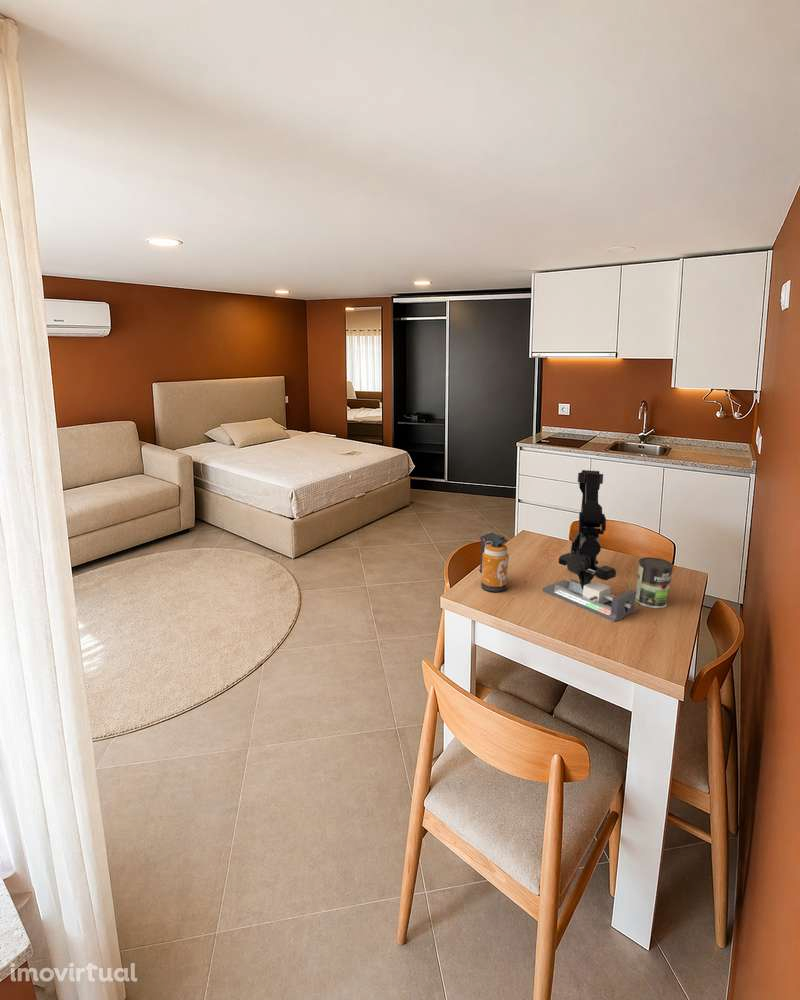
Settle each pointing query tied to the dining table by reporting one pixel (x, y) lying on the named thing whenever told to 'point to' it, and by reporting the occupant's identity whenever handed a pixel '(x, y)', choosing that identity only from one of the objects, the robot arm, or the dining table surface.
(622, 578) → the dining table surface
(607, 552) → the dining table surface
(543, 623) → the dining table surface
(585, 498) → the robot arm
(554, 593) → the gauge track
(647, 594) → the coffee can
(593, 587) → the white cube with rod
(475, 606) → the dining table surface
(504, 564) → the canister
